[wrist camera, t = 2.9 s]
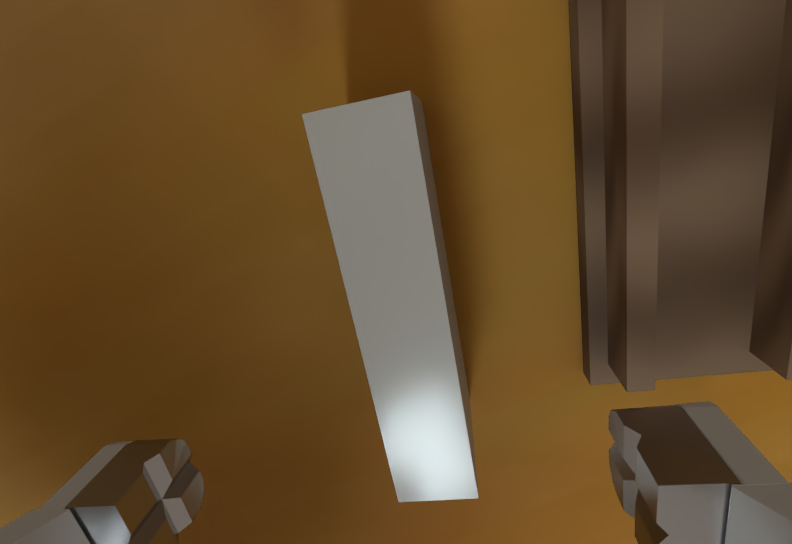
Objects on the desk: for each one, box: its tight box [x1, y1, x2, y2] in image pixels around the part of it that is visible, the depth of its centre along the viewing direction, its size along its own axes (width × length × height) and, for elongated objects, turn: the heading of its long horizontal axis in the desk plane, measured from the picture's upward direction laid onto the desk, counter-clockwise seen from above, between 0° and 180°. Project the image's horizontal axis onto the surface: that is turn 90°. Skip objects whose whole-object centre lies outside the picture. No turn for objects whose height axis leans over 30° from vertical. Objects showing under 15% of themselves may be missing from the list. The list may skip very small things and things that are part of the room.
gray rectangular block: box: [302, 90, 478, 502], centre depth 16 cm, size 14×3×6 cm, turn 11°
